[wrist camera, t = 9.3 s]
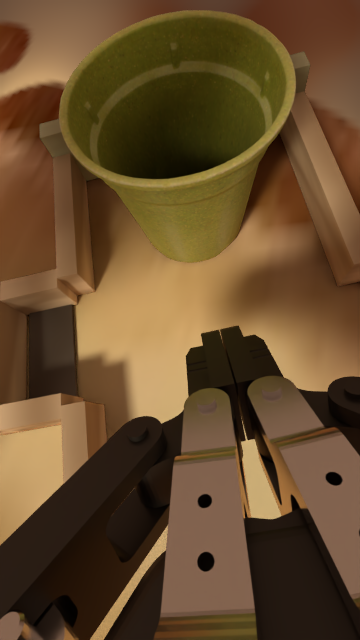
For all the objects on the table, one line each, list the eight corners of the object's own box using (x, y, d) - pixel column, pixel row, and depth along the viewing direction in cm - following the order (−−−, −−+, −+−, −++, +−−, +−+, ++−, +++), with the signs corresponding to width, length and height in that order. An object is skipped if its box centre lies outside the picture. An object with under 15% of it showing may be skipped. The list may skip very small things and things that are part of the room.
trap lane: (3, 547, 16) (-67, 583, 12) (12, 187, 24) (-29, 142, 20) (551, 462, 14) (671, 474, 10) (358, 97, 22) (385, 28, 18)
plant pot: (261, 156, 21) (279, -11, 13) (277, 281, 18) (315, 164, 10) (127, 174, 23) (69, 31, 15) (122, 294, 20) (45, 199, 11)
